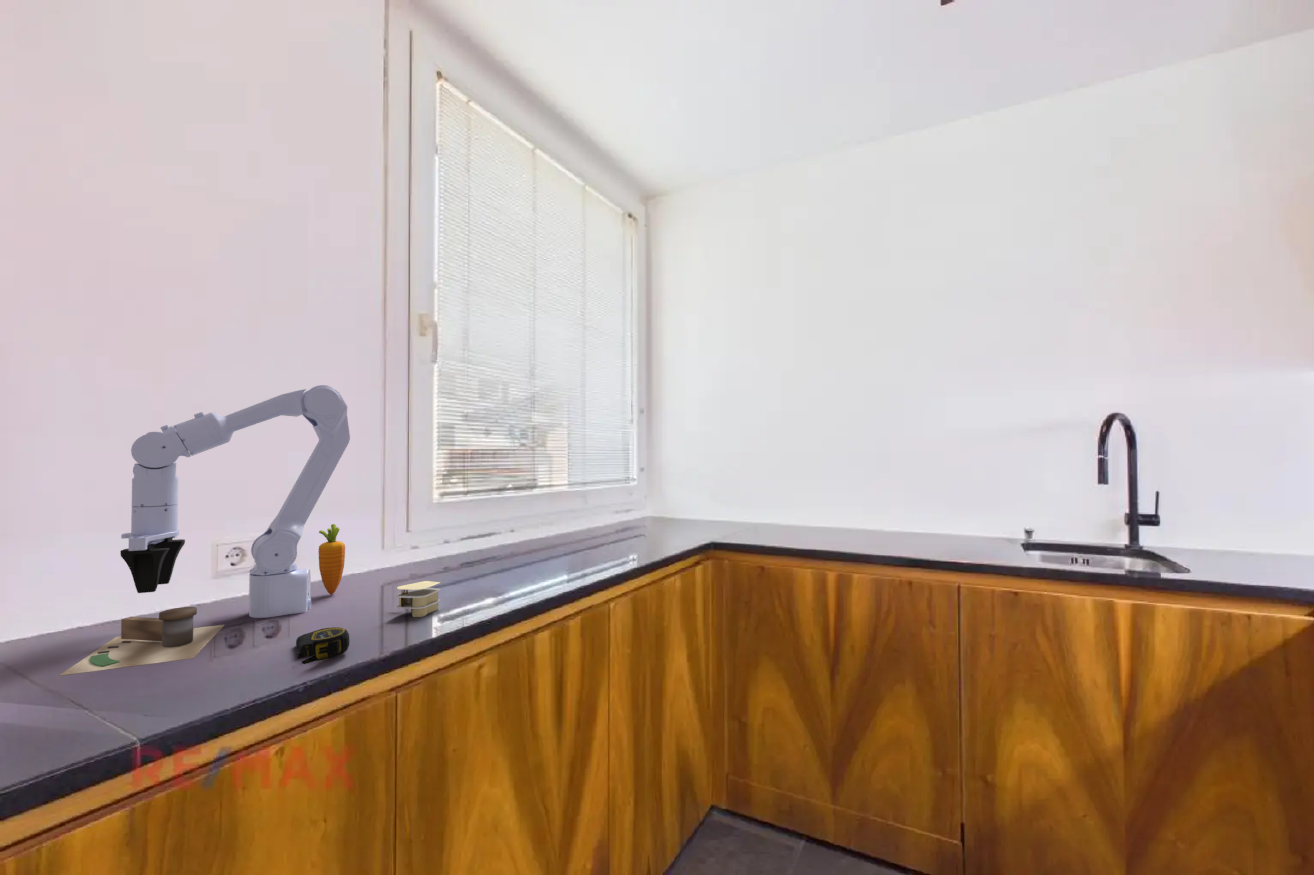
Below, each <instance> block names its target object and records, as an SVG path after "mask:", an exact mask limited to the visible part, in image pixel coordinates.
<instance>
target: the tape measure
mask: <svg viewBox="0 0 1314 875" xmlns="http://www.w3.org/2000/svg"><path fill="white" fill-rule="evenodd" d="M295 646H296V649H297V650H298V653H296V656H297V658H296V659H304V658H305V657H308V658H306V659H304V660H301V661H300V663H301V664H303V665H307V664H311V663H313V662H319V661H320V662H321V661H322V662H323V661H328V660H332V659H334V658H337V657H340V656H342V655H344V654H345V653H346V652H347V651H348V650H349V646H350V633H349V632H348V630H347V629H345V628H344V627H340V626H339V627H333V626H332V627H325V628H320V629H318V630H313V631H311V632H307V633H304V634H302V635H299V636H298V637H297V638H296V641H295Z"/></svg>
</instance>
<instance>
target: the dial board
mask: <svg viewBox="0 0 1314 875" xmlns="http://www.w3.org/2000/svg"><path fill="white" fill-rule="evenodd" d="M224 626H225V624H217V625H211V626H209V625H208V626H202V627H201V626H200V627H193V641H191V642H189V643H186V644H183V645H178V646H170V647H165V646H162V641H147V640H130V639H121V635H120V636H115V637H114V638H112V639H111V640H109V641H108V642H106V643H104V644H103V645H101V647H99V648H97V649H96V650H94V651H93V652H92V653H90V654H88V655H87V656H86V657H84V658H83V659H81V660H80V661H78V662H77V663H75V664H74V665H72V666H71V667H69V668H68V669H66V670H65V671H64V672H62V673H61V674H59V675H58V676H59V677H60V676H68V675H69V676H70V675H76V674H85V673H91V672H100V671H108V670H114V669H122V668H130V667H136V666H137V667H138V666H142V665H143V666H145V665H151V664H161V663H166V662H175V661H182V660H183V661H185V660H189V659H194V658H195V657H196V656H197V655H198V654H199V652H201V651H202V649H203V648H205V646H206V645H207V644H208V643H209V642H210V641H211V640H212V639H213V638H214V637H215V636H216V635H217V634H218V633H219V632H220V631H221V629H222V628H223V627H224Z"/></svg>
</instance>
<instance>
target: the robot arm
mask: <svg viewBox="0 0 1314 875" xmlns="http://www.w3.org/2000/svg"><path fill="white" fill-rule="evenodd" d="M345 401H346V400H344V398H343V397H342V394H341V393H340V392H339V391H338V390H337V389H336V388H335V387H332V386H330V385H325V384H320V385H319V384H318V385H316V386H313V387H311V388H310V389H308V390H307V389H306V388H305V389H299V390H295V391H291V392H290V391H289V392H287V393H283V394H279V395H276V396H274V397H271V398H269V399H266V400H264V401H261V402H258V403H255V404H253V405H251V406H248V407H245V408H243V409H240V410H238V411H235V412H232V413H229V414H228V415H222V414H218V413H216V412H208V413H206V414H204V413H203V412H199V413H195V414H194V415H193V417H194V418H192V419H189V420H185V421H183V422H180V423H177V424H174V425H171V426H169V425H168V424H165V425H163V426H161V427H160V429H161V431H162V432H161V431H148V432H147V433H146V434H144V435H142V436H139V437H138V438H137V439H136V440H135V441H134V442H132V445H131V448H130V452H131V456H132V459H134V461H135V462H136V463H134V465H133V468H132V472H133V473H132V474H133V478H132V479H131V514H130V515H131V519H130V520H131V523H130V524H131V525H130V526H131V528H130V529H131V530H130V532H126V533H122V534H121V536H120V538H121V539H124V540H125V539H128V548H123V549H121V550H120V554H119V555H120V557H121V559H123V560H124V562H125V563H126V565H127V566H128V568H129V571H130V573H131V576H132V578H133V583H134V586H135V589H136V592H137V594H145V593H154V592H156V591H157V589H158V585H168V584H169V583H170V581H171V578H172V576H173V575H172V574H173V571H174V568H175V564H176V560H177V559H178V556H179V553H180V552H181V550H182V548H183V547H184V545H185V543H186V539H180V538H179V539H175V538H178V536H179V535H180V530H179V529H178V528H179V527H178V524H179V523H178V522H179V520H178V519H179V515H178V514H179V477H178V476H177V462H176V461H177V460H178V458H179V457H186V458H191V457H192V456H195V455H198V454H201V453H203V452H206V451H209V450H211V449H214V448H217V447H220V446H222V445H225V444H227V443H229V442H230V441H231V439H232V436H233V434H234V433H235V432H236V431H240V430H243V429H246V428H249V427H252V426H254V425H257V424H260V423H263V422H267V421H269V420H272V419H274V418H277V417H280V416H284V417H286V416H287V417H295V418H296V417H300V416H303V417H304V418H305V419H306V420H307V421H308V423H310V424H311V425H312V428H313V430H314V432H315V433H316V436H317V438H318V442H317V444H316V445H315V446H314V449H313V450H312V452H311V454H310V456H309V458H308V459H307V461H306V463H305V465H304V466H303V469H302V470H301V473H299V475H298V477H297V480H296V481H295V482H294V485H293V486H292V487H291V488H292V489H291V490H290V492H289V494H288V495H287V497H286V499H285V501H284V502H283V504H282V506H281V508H280V510H279V511H278V513H277V515H276V516H275V518H274V519H273V520H272V521H271V522H270V524H269V526H268V527H267V529H266V531H265V532H263V533H262V534H260V535H259V536H258V537H256V538H255V540H254V541H253V543H252V545H251V549H250V554H251V556H252V558H253V559H254V562H255V565H254V566H253V567H252V568H251V569H250V570H249V571H248V572H249V576H248V577H249V578H248V579H249V580H248V581H249V584H248V586H249V587H248V616H249V617H250V618H255V619H258V618H259V619H262V618H264V619H265V618H274V617H279V616H286V615H293V614H295V615H296V614H302V613H307V611H308V610H311V607H312V598H311V591H312V590H311V589H312V588H311V582H312V580H311V578H312V577H311V569H310V568H298V564H295V563H294V562H295V561H296V559H297V557H298V544H299V542H300V540H301V538H302V535H303V531H304V528H305V525H306V522H307V521H308V519H309V517H310V515H311V513H312V512H313V510H314V508H315V506H316V504H317V503H318V501H319V498H320V497H321V495H322V493H323V491H324V490H325V488H326V486H327V484H328V483H329V480H330V478H331V477H332V475H333V473H334V471H335V469H336V467H337V465H338V464H339V462H340V460H341V458H342V456H343V455H344V452H345V450H346V449H347V447H348V445H349V444H350V440H351V434H350V428H349V419H348V405H347V403H346V402H345Z"/></svg>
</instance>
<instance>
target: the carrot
mask: <svg viewBox="0 0 1314 875" xmlns="http://www.w3.org/2000/svg"><path fill="white" fill-rule="evenodd" d="M326 530H327V532H326V531H324V530H322V529H320V530H319V531H318V533H319V534H321V535H322V536H324V537H325V539H326V540H327V541H326V542H322V543H321V544H320V545H319V546H318V567H319V568H318V569H319V574H320V578H321V581H322V584H323V586H324V588H325V590H326V592H327V593H328V594H329V595H330V596H332V595H334V593H335V592H336V590H337V589H338V587H339V585H340V583H341V580H342V576H343V573H344V569H345V561H346V560H345V558H346V545H345V543H344V542H342V541H339V540H337V536H338V534H339V532H340V528H339V527H337V525H336V524H335V523H333V524H332V523H331V525H330V527H328V528H327V529H326Z"/></svg>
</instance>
